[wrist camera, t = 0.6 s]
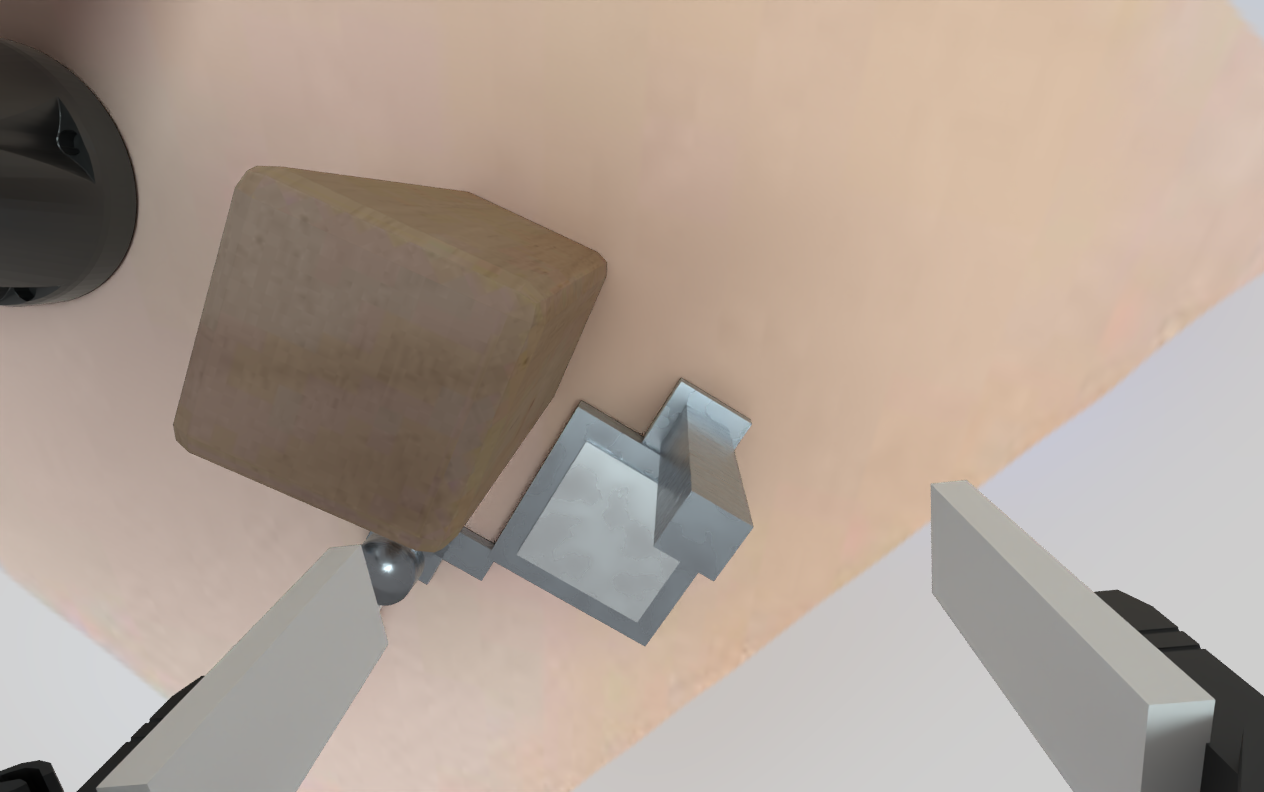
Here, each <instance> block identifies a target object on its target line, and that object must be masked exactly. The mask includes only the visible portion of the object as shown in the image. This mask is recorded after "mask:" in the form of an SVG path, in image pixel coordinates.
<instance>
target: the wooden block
mask: <svg viewBox="0 0 1264 792" xmlns="http://www.w3.org/2000/svg"><path fill="white" fill-rule="evenodd" d="M606 271H607V262H606V261H605V260H604V259H603V258H602V257H601V256H600V254H599V253H598V252H596V251H594V250H592V249H589V248H587V247H585V246H583V245H581V244H579V243H577V242H574V241H572V240H570V239H568V238H566V237H564V236H562V235H559V234H557V233H555V232H553V231H551V230H549V229H547V228H544V227H542V226H540V225H538V224H536V223H534V222H532V221H529V220H527V219H525V218H523V217H521V216H519V215H517V214H514V213H512V212H510V211H508V210H506V209H504V208H502V207H499V206H497V205H495V204H493V203H491V202H489V201H487V200H484V199H482V198H480V197H478V196H476V195H474V194H472V193H469V192H465V191H457V190H450V189H442V188H435V187H428V186H420V185H413V184H405V183H398V182H391V181H383V180H376V179H368V178H361V177H354V176H346V175H339V174H332V173H324V172H317V171H309V170H302V169H295V168H287V167H274V166H256V167H253V168H251V169H249V170H247V172H246V173H245V174H244V176H243V177H242V179H241V180H240V181H239V183H238V184H237V186H236V187H235V190H234V194H233V197H232V201H231V205H230V209H229V213H228V217H227V220H226V224H225V228H224V232H223V236H222V240H221V243H220V247H219V251H218V255H217V259H216V263H215V266H214V270H213V274H212V278H211V282H210V286H209V289H208V293H207V297H206V301H205V305H204V309H203V312H202V316H201V320H200V324H199V328H198V332H197V335H196V339H195V343H194V347H193V351H192V354H191V358H190V362H189V366H188V370H187V374H186V377H185V381H184V385H183V389H182V393H181V397H180V400H179V404H178V408H177V412H176V416H175V420H174V423H173V426H174V432H175V438H176V441H177V442H178V443H180V444H181V445H182V446H183V447H184V448H185V449H186V450H187V451H188V452H190V453H192V454H194V455H197V456H199V457H201V458H203V459H206V460H208V461H210V462H213V463H215V464H217V465H220V466H222V467H224V468H226V469H229V470H231V471H233V472H236V473H238V474H240V475H243V476H245V477H247V478H250V479H252V480H254V481H256V482H259V483H261V484H263V485H266V486H268V487H270V488H273V489H275V490H277V491H279V492H282V493H284V494H286V495H289V496H291V497H293V498H296V499H298V500H300V501H302V502H305V503H307V504H309V505H312V506H314V507H316V508H319V509H321V510H323V511H325V512H328V513H330V514H332V515H335V516H337V517H339V518H342V519H344V520H346V521H348V522H351V523H353V524H355V525H358V526H360V527H362V528H365V529H367V530H369V531H372V532H374V533H376V534H378V535H381V536H383V537H385V538H388V539H390V540H392V541H395V542H397V543H399V544H401V545H404V546H406V547H408V548H411V549H413V550H415V551H424V552H434V553H435V552H437V551H439V550H441V549H443V548H444V547H445V546H446V545H448V544H449V543H450V542H451V541H452V540H453V539H454V538H455V537H456V536H458V534H459V533H460V531H461V530H462V528H463V527H464V525H465V524H466V523H467V521H468V520H469V518H470V517H471V515H472V514H473V512H474V511H475V510H476V508H477V507H478V505H479V504H480V502H481V501H482V499H483V498H484V497H485V495H486V494H487V492H488V491H489V489H490V488H491V486H492V485H493V484H494V482H495V481H496V479H497V478H498V476H499V475H500V473H501V472H502V471H503V469H504V468H505V466H506V465H507V463H508V462H509V461H510V459H511V458H512V456H513V455H514V453H515V452H516V450H517V449H518V448H519V446H520V445H521V443H522V442H523V440H524V439H525V437H526V436H527V435H528V433H529V432H530V430H531V429H532V427H533V426H534V424H535V423H536V422H537V420H538V419H539V417H540V416H541V414H542V413H543V411H544V410H545V409H546V407H547V406H548V404H549V403H550V401H551V400H552V398H553V397H554V395H555V392H556V390H557V388H558V386H559V383H560V381H561V379H562V376H563V374H564V372H565V370H566V367H567V365H568V363H569V360H570V358H571V356H572V354H573V351H574V349H575V347H576V344H577V342H578V340H579V337H580V335H581V333H582V331H583V328H584V326H585V324H586V321H587V319H588V317H589V315H590V312H591V310H592V308H593V305H594V303H595V301H596V298H597V296H598V294H599V292H600V289H601V287H602V285H603V282H604V280H605V278H606Z"/></svg>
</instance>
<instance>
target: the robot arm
mask: <svg viewBox="0 0 1264 792" xmlns="http://www.w3.org/2000/svg"><path fill="white" fill-rule="evenodd" d="M135 218H136V190H135V182H134V176H133V171H132V167H131V164H130V160H129V157H128V154H127V151H126V148H125V146H124V143H123V141H122V138H121V136H120V134H119V132H118V130H117V128H116V126H115V125H114V123H113V121H112V119H111V118H110V116H109V115H108V113H107V112H106V110H105V109H104V107H103V106H102V104H101V103H100V102H99V100H98V99H97V98H96V97H95V96H94V94H93V93H92V92H91V91H90V90H89V89H88V88H87V87H86V86H85V84H84V83H83V82H81V81H80V80H79V79H78V78H77V77H76V76H75V75H74V74H73V73H71V72H70V71H69V70H68V69H67V68H65V67H64V66H63V65H61V64H60V63H58V62H57V61H55V60H54V59H52V58H51V57H49V56H47V55H45V54H44V53H42V52H40V51H38V50H36V49H33V48H31V47H29V46H26V45H23V44H21V43H17V42H14V41H10V40H7V39H3V38H0V306H8V307H22V306H33V305H41V304H48V303H56V302H62V301H67V300H71V299H75V298H77V297H80V296H82V295H85V294H87V293H89V292H90V291H92V290H94V289H95V288H97V287H98V286H99V285H101V284H102V283H103V282H104V281H105V280H107V279H108V278H109V277H110V276H111V274H112V273H113V272H114V271H115V270H116V268H117V267H118V266H119V264H120V262H121V261H122V259H123V257H124V255H125V253H126V251H127V249H128V246H129V244H130V241H131V238H132V234H133V230H134V225H135ZM931 543H932V593H933V595H934V596H935V597H936V599H937V600H938V601H939V603H940V604H941V606H942V607H943V609H944V610H945V612H946V613H947V614H948V616H949V617H950V619H951V620H952V621H953V623H954V624H955V626H956V627H957V628H958V630H959V631H960V633H961V634H962V635H963V637H964V638H965V640H966V641H967V643H968V644H969V645H970V647H971V648H972V650H973V651H974V652H975V654H976V655H977V657H978V658H979V659H980V661H981V662H982V664H983V665H984V666H985V668H986V669H987V671H988V672H989V674H990V675H991V676H992V678H993V679H994V681H995V682H996V683H997V685H998V686H999V688H1000V689H1001V690H1002V692H1003V693H1004V695H1005V696H1006V697H1007V699H1008V700H1009V702H1010V703H1011V705H1012V706H1013V707H1014V709H1015V710H1016V712H1017V713H1018V714H1019V716H1020V717H1021V719H1022V720H1023V721H1024V723H1025V724H1026V725H1027V727H1028V728H1029V730H1030V731H1031V733H1032V734H1033V735H1034V737H1035V738H1036V740H1037V741H1038V743H1039V744H1040V745H1041V747H1042V748H1043V750H1044V751H1045V752H1046V754H1047V755H1048V757H1049V758H1050V759H1051V761H1052V762H1053V764H1054V765H1055V767H1056V768H1057V769H1058V771H1059V772H1060V774H1061V775H1062V776H1063V778H1064V779H1065V781H1066V782H1067V783H1068V785H1069V786H1070V788H1071V789H1072V790H1073V792H1264V696H1263V695H1261V694H1260V693H1259V692H1258V691H1257V690H1255V689H1254V688H1253V687H1251V686H1250V685H1249V684H1248V683H1247V682H1245V681H1244V680H1243V679H1242V678H1240V677H1239V676H1238V675H1237V674H1236V673H1234V672H1233V671H1232V670H1231V669H1229V668H1228V667H1227V666H1226V665H1224V664H1223V663H1222V662H1220V661H1219V660H1218V659H1217V658H1216V657H1214V656H1213V655H1212V654H1210V653H1209V652H1208V651H1207V650H1206V649H1201V648H1200V645H1199V644H1198V643H1197V642H1196V641H1195V640H1193V639H1192V638H1191V637H1190V636H1188V635H1187V634H1186V633H1185V632H1183V631H1179V630H1178V627H1177V626H1176V625H1175V624H1174V623H1172V622H1171V621H1170V620H1169V619H1167V618H1166V617H1164V615H1162V614H1161V613H1160V612H1159V611H1157V610H1156V609H1155V608H1154V607H1152V606H1151V605H1148V604H1146V603H1144V602H1142V601H1140V600H1138V599H1136V598H1134V597H1132V596H1130V595H1128V594H1125V593H1123V592H1121V591H1119V590H1110V591H1098V592H1093V591H1092V590H1090V589H1089V588H1088V587H1087V586H1086V585H1085V584H1084V583H1083V582H1081V581H1080V580H1079V579H1078V578H1077V577H1076V576H1074V575H1073V574H1072V573H1071V572H1070V571H1069V570H1068V569H1067V568H1066V567H1064V566H1063V565H1062V564H1061V563H1060V562H1059V561H1057V560H1056V559H1055V558H1054V557H1053V556H1052V555H1051V554H1050V553H1048V552H1047V551H1046V550H1045V549H1044V548H1043V547H1042V546H1041V545H1039V544H1038V543H1037V542H1036V541H1035V540H1034V539H1033V538H1032V537H1030V536H1029V535H1028V534H1027V533H1026V532H1025V531H1024V530H1023V529H1021V528H1020V527H1019V526H1018V525H1017V524H1016V523H1015V522H1013V521H1012V520H1011V519H1010V518H1009V517H1008V516H1007V515H1006V514H1004V513H1003V512H1002V511H1001V510H1000V509H999V508H998V507H996V506H995V505H994V504H993V503H992V502H991V501H989V500H988V499H987V498H986V497H985V496H984V495H983V494H982V493H981V492H979V491H978V490H977V489H976V488H975V487H974V486H973V485H972V484H970V483H969V482H968V481H967V480H961V481H952V482H942V483H933V484H931ZM387 645H388V640H387V636H386V633H385V629H384V626H383V622H382V618H381V615H380V611H379V608H378V604H377V601H376V597H375V593H374V590H373V586H372V583H371V579H370V576H369V572H368V568H367V565H366V561H365V558H364V554H363V550H362V547H361V545H351V546H342V547H333V548H329V549H328V550H327V551H326V552H325V553H324V554H323V555H322V556H321V557H320V558H319V559H318V561H317V562H316V563H315V564H314V565H313V566H312V567H311V568H310V569H309V570H308V571H307V572H306V573H305V574H304V575H303V576H302V577H301V578H300V579H299V580H298V581H297V582H296V583H295V584H294V585H293V586H292V587H291V588H290V589H289V590H288V591H287V592H286V593H285V594H284V595H283V596H282V597H281V598H280V599H279V601H278V602H277V603H276V604H275V605H274V606H273V607H272V608H271V609H270V610H269V611H268V612H267V613H266V614H265V615H264V616H263V617H262V618H261V619H260V620H259V621H258V622H257V623H256V624H255V625H254V626H253V627H252V628H251V629H250V630H249V631H248V632H247V633H246V634H245V635H244V636H243V637H242V638H241V639H240V641H239V642H238V643H237V644H236V645H235V646H234V647H233V648H232V649H231V650H230V651H229V652H228V653H227V654H226V655H225V656H224V657H223V658H222V659H221V660H220V661H219V662H218V663H217V664H216V665H215V666H214V667H213V668H212V669H211V670H210V671H209V672H208V673H207V674H206V675H205V676H201V677H199V678H198V679H197V680H195V681H194V682H192V683H191V684H189V685H188V686H186V687H185V688H184V689H182V690H181V691H179V692H178V693H176V694H175V695H173V696H172V697H171V698H170V699H169V700H168V701H167V702H166V703H165V704H164V705H163V706H162V707H161V708H160V709H159V710H158V711H157V712H156V713H155V714H154V715H153V716H152V717H151V718H150V722H149V723H145V724H144V725H143V726H142V727H141V728H140V729H139V730H138V731H137V732H136V733H135V734H134V735H133V736H132V737H131V741H130V742H126V743H125V744H124V745H123V746H122V747H121V748H120V749H119V750H118V751H117V752H116V753H115V754H114V755H113V756H112V757H111V758H110V759H109V760H108V761H107V762H106V763H105V764H104V765H103V766H102V767H101V768H100V769H99V770H98V771H97V772H96V773H95V774H94V775H93V776H92V777H91V778H90V779H89V780H88V781H87V782H86V783H85V784H84V785H83V786H82V787H81V788H80V789H79V790H78V791H77V792H296V791H297V790H298V788H299V786H300V785H301V783H302V782H303V780H304V778H305V777H306V775H307V774H308V772H309V770H310V769H311V767H312V766H313V764H314V762H315V761H316V759H317V758H318V756H319V754H320V753H321V751H322V750H323V748H324V746H325V745H326V743H327V742H328V740H329V738H330V737H331V735H332V734H333V732H334V730H335V729H336V727H337V726H338V724H339V722H340V721H341V719H342V718H343V716H344V714H345V713H346V711H347V709H348V708H349V706H350V705H351V703H352V701H353V700H354V698H355V697H356V695H357V693H358V692H359V690H360V689H361V687H362V685H363V684H364V682H365V681H366V679H367V677H368V676H369V674H370V673H371V671H372V669H373V668H374V666H375V665H376V663H377V661H378V660H379V658H380V657H381V655H382V653H383V652H384V650H385V649H386V647H387ZM0 792H64V790H63V788H62V786H61V784H60V782H59V780H58V777H57V776H56V773H55V771H54V769H53V767H52V765H51V763H49V762H44V761H40V760H38V761H32V762H26V763H21V764H18V765H15V766H13V767H10V768H7V769H5V770H2V771H0Z"/></svg>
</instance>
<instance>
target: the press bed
mask: <svg viewBox="0 0 1264 792" xmlns="http://www.w3.org/2000/svg"><path fill="white" fill-rule="evenodd" d="M751 425H752V423H751V420H750V419H749V418H747V417H746V416H744V415H742V414H741V413H739V412H737V411H736V410H734V409H732V408H731V407H729V406H727V405H726V404H724V403H722V402H721V401H719V400H717V399H716V398H714V397H712V396H711V395H709V394H707V393H706V392H704V391H702V390H701V389H699V388H697V387H696V386H694V385H693V384H691V383H689V382H688V381H686V380H684V379H683V378H681V379H680V380H679V382H678V384H677V385H676V387H675V388H674V390H673V391H672V393H671V394H670V396H669V397H668V399H667V401H666V402H665V404H664V405H663V407H662V408H661V410H660V411H659V413H658V415H657V416H656V418H655V419H654V421H653V422H652V424H651V425H650V427H649V429H648V430H647V432H646V433H645V435H644V436H641V435H639V434H638V433H636V432H634V431H632V430H631V429H629V428H627V427H626V426H624V425H622V424H621V423H619V422H617V421H616V420H614V419H612V418H611V417H609V416H607V415H605V414H604V413H602V412H600V411H599V410H597V409H595V408H594V407H592V406H590V405H589V404H587V403H585V402H583V401H582V400H581V402H580V404H579V405H578V407H577V409H576V410H575V412H574V414H573V415H572V417H571V419H570V420H569V422H568V424H567V425H566V427H565V429H564V430H563V432H562V434H561V435H560V437H559V438H558V440H557V442H556V443H555V445H554V447H553V448H552V450H551V452H550V453H549V455H548V457H547V458H546V460H545V462H544V463H543V465H542V467H541V468H540V470H539V472H538V473H537V475H536V477H535V478H534V480H533V482H532V483H531V485H530V487H529V488H528V490H527V492H526V493H525V495H524V497H523V498H522V500H521V502H520V503H519V505H518V507H517V508H516V510H515V512H514V513H513V515H512V516H511V518H510V520H509V521H508V523H507V525H506V526H505V528H504V530H503V531H502V533H501V535H500V536H499V538H498V540H497V541H496V543H495V544H493V543H492V542H490V541H488V540H486V539H485V538H483V537H481V536H479V535H477V534H476V533H474V532H472V531H470V530H469V529H467V528H465V527H463V528H462V530H461V531H460V533H459V534H458V536H456V537H455V538H454V539H453V540H452V541H451V542H450V543H449V544H448V545H446V546H445V547H444V548H443V549H441V550H439V551H437V552H435V553H434V552H424V551H422V552H423V555H424V560H425V564H424V569H423V572H422V574H421V576H420V577H419V579H418V580H420V581H421V582H423V583H425V584H428V583H429V581H430V580H431V578H432V577H433V575H434V573H435V572H436V570H437V568H438V566H439V565H440V563H441V561H442V560H445V561H447V562H448V563H450V564H452V565H454V566H456V567H457V568H459V569H461V570H463V571H465V572H466V573H468V574H470V575H472V576H474V577H475V578H477V579H479V580H481V581H482V580H483V578H484V576H485V575H486V573H487V571H488V570H489V568H490V566H491V565H492V563H493V561H494V562H496V563H497V564H499V565H501V566H503V567H504V568H506V569H508V570H510V571H512V572H513V573H515V574H517V575H519V576H521V577H522V578H524V579H526V580H528V581H529V582H531V583H533V584H535V585H537V586H538V587H540V588H542V589H544V590H545V591H547V592H549V593H551V594H553V595H554V596H556V597H558V598H560V599H562V600H563V601H565V602H567V603H569V604H570V605H572V606H574V607H576V608H578V609H579V610H581V611H583V612H585V613H586V614H588V615H590V616H592V617H594V618H595V619H597V620H599V621H601V622H602V623H604V624H606V625H608V626H610V627H611V628H613V629H615V630H617V631H619V632H620V633H622V634H624V635H626V636H627V637H629V638H631V639H633V640H635V641H636V642H638V643H640V644H642V645H643V646H646V645H647V643H648V642H649V640H650V639H651V638H652V636H653V635H654V633H655V632H656V631H657V629H658V628H659V627H660V625H661V624H662V622H663V621H664V620H665V618H666V617H667V615H668V614H669V613H670V611H671V610H672V608H673V607H674V606H675V604H676V603H677V602H678V600H679V599H680V597H681V596H682V595H683V593H684V592H685V590H686V589H687V588H688V586H689V585H690V583H691V582H692V581H693V579H694V578H695V576H696V575H697V574H698V573H700V574H702V575H704V576H705V577H707V578H709V579H711V580H712V581H714V580H715V579H716V578H717V576H718V575H719V574H720V572H721V571H722V569H723V568H724V567H725V565H726V564H727V563H728V561H729V560H730V559H731V557H732V556H733V554H734V553H735V552H736V550H737V549H738V548H739V546H740V545H741V543H742V542H743V541H744V539H745V538H746V537H747V535H748V534H749V533H750V531H751V530H752V528H753V523H752V519H751V515H750V511H749V507H748V503H747V499H746V495H745V491H744V487H743V483H742V480H741V476H740V472H739V468H738V464H737V460H736V456H735V452H734V449H735V448H736V446H737V445H738V443H739V442H740V441H741V439H742V438H743V436H744V435H745V433H746V432H747V431H748V429H749V428H750V426H751ZM373 533H374V532H372V531H370V533H369V535H368V536H367V538H368V537H369V536H371V535H372V534H373ZM367 538H366V539H367Z"/></svg>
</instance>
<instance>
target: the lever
mask: <svg viewBox="0 0 1264 792" xmlns="http://www.w3.org/2000/svg"><path fill="white" fill-rule="evenodd" d="M361 547H362V550H363V554H364V558H365V561H366V565H367V568H368V572H369V576H370V579H371V583H372V586H373V590H374V593H375V597H376V601H377V604H378V608H379V611H380V610H381V608H382V606H385V605H392V604H395V603H397V602H399V601H401V600H402V599H403V598H405V596H406V595H407V594H408V593H409V591H410V590H411V588H412V587H413V586H414V584H415V583H416V581H417V580H418V579H419V577H420V576H421V574H422V572H423V569H424V564H425V560H424V555H423V552H422V551H415V550H413V549H411V548H408V547H406V546H404V545H401V544H399V543H397V542H395V541H392V540H390V539H388V538H385V537H383V536H381V535H378V534H376V533H373V534H372V535H371V536H369V537H368V538H367V539H366V540H365V541H364V542H363V543H362V544H361Z"/></svg>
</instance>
